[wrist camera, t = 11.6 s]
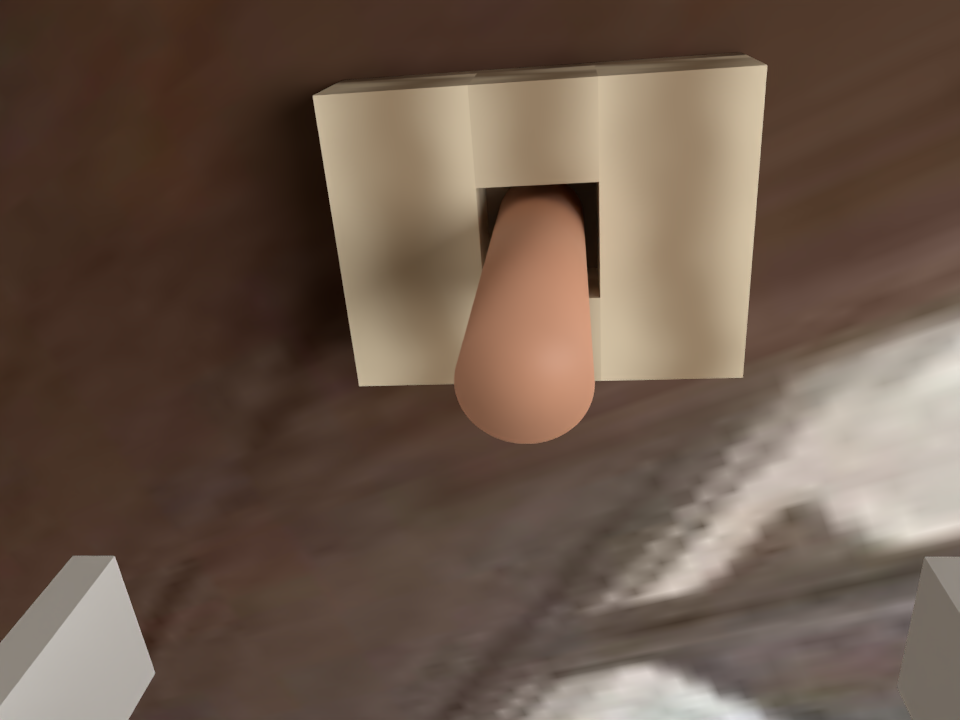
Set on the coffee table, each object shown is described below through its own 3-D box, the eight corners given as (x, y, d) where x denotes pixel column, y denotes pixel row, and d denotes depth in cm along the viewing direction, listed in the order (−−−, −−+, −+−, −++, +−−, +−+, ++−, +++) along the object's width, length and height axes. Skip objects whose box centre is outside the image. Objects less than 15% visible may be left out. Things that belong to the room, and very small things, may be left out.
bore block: (380, 342, 38) (359, 386, 34) (343, 79, 33) (312, 95, 29) (723, 332, 36) (742, 377, 32) (741, 52, 31) (767, 65, 27)
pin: (501, 260, 35) (460, 444, 21) (495, 177, 33) (447, 321, 20) (584, 256, 34) (595, 442, 21) (582, 173, 33) (593, 317, 19)
